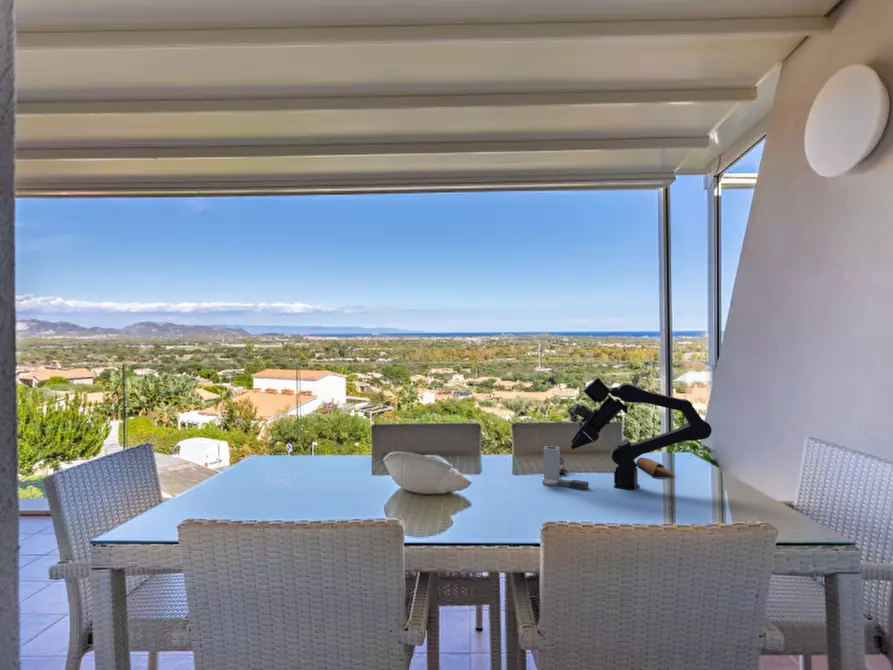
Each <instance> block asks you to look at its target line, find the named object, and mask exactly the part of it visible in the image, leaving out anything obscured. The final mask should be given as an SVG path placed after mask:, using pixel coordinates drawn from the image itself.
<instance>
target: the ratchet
mask: <svg viewBox="0 0 893 670" xmlns="http://www.w3.org/2000/svg"><path fill="white" fill-rule="evenodd" d="M541 478H542V481H541V482H542V484H543V485H544V486H549V487H550V486H551V487H557V486H560V487H565V488H571V489H576V490H582V491H586V490H587V489H589V481H584V480H578V479H572V480H570V479H568V480H567V479H563V478H562V476H560V477H559V480H555V479H544V475H543V476H542V477H541Z"/></svg>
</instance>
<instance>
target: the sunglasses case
mask: <svg viewBox="0 0 893 670" xmlns="http://www.w3.org/2000/svg"><path fill="white" fill-rule="evenodd" d="M635 462H636V464H637V467H638V468H640V469H643V470H644V471H645V472H647V473H648V474H650V475H651V476H653V477H654V478H655V477H672V478H676V476H675V475H674V474H673V472H671V471H670V470H669V469H668V468H666V467H664V466H665V465H663V464H662V463H659V462H658V461H655V460H653V459H650V458H646V457H638V459H637V460H636V461H635Z"/></svg>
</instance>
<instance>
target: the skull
mask: <svg viewBox="0 0 893 670" xmlns="http://www.w3.org/2000/svg"><path fill="white" fill-rule="evenodd" d="M559 460H560V473H562V474H564V475H566V474H567V472H566V471H567V467H566V466H565V465H564V464H565V463H564V461H565V460H564V458H563V456H561V455H559Z"/></svg>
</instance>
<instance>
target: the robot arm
mask: <svg viewBox="0 0 893 670" xmlns="http://www.w3.org/2000/svg"><path fill="white" fill-rule="evenodd" d="M582 392H583V394H584V395H586V396H587V397H588V398H589V399H590V400H591V401H592V402H593V403H595V404H596V403H599V404H600V405H599V406H598V407H596V408H594V409H591V408H589V407H587V406H586V405H584V404H580V403H576V405H575V407H574V409H573V412H572V413H573V414H574V415H576V416H578V417H581V420H580V421H579V429H578V431H577V432H576V434H575V435H574V437H573V438H572V439H571V443H572V444H571V446H570V448H571V449H572V450H575V449H577V448H580V447H583V446H586V445H589V444H591V443H595V442H596V441H597V440H598V439H599V438H600V433H601V430H603V428H604V427H606V426H607V425H609V424H610V423H611V421H612V420H613V419H614V418H615V417H616V416H617V415H618V414H619V413H620V412H621V411H622V412H623V413H624V414H628V407H629V406H628V404H624V403H630V404H631V403H632V404H634V403H635V404H649V405H653V406H659V407H662V408H667V409H671V410H674V411H679V412H681V413H682V415H683V416H684V418H685V420H686V422H685V423H684V424H683V425H681V426H680V427H678V428H677V429H673V430H670V431H666V432H663V433H661V434H658V435H655V436H651V437H649V438H645V439H643V440H640V441H639V440H638V441H636V442H631V441H630V440H629V439H628V438H626V439H623V441H617V442H616V444H614V445H612V447H611V449H610V456H611V460H612V461H613V462H614V464H616V465H617V466H615V471H614V472H613V474H614V475H613V483H614V485H613V487H614V488H617V489H618V488H619V489H624V488H625V490H630V489H632V490H633V489H634V490H636V489H637V488H638V487H640V484H639V483H638V481H639V480H638V468H637V467H638V466H637V464H636V462H637V461H636V459H637V458H640V456H642V455H645V454H647V453H651V452H654V451H656V450H660V449H663V448H665V447H666V448H667V447H669V446H673V445H675V444H679V443H682V442H688V441H689V442H690V441H691V442H692V441H693V442H694V441H701V440H706V439H708V438H710V436H711V434H712V426H711V425H710V423H708V422H707V421H706V420H704V419H703V418H702V417H701V416H700V414H699V413H698V411H697V410H696V408H695V407H694V406H693V403H692V402H691V401H689V400H688V399H685V398H679V397H678V398H677V397H674V396H669V395H664V394H661V393H655V392H651V391H648V390H645V389H642V388H640V387H638V386H636V385H633V384H630V383H628V382H623V383H621V384H619V386H615V387H608V386H607V385H606V384H604V383H603V381H602V380H601V379H600V378H599V377H596V378H595V379H594V380H593V381H592V382H590V383H588V384H587V386H586V387H584V389H583V390H582ZM614 398H616V399H614ZM618 398H619V399H618ZM603 401H604V402H603ZM621 401H622V402H621ZM623 402H624V403H623ZM636 487H637V488H636ZM634 490H633V491H634Z"/></svg>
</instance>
